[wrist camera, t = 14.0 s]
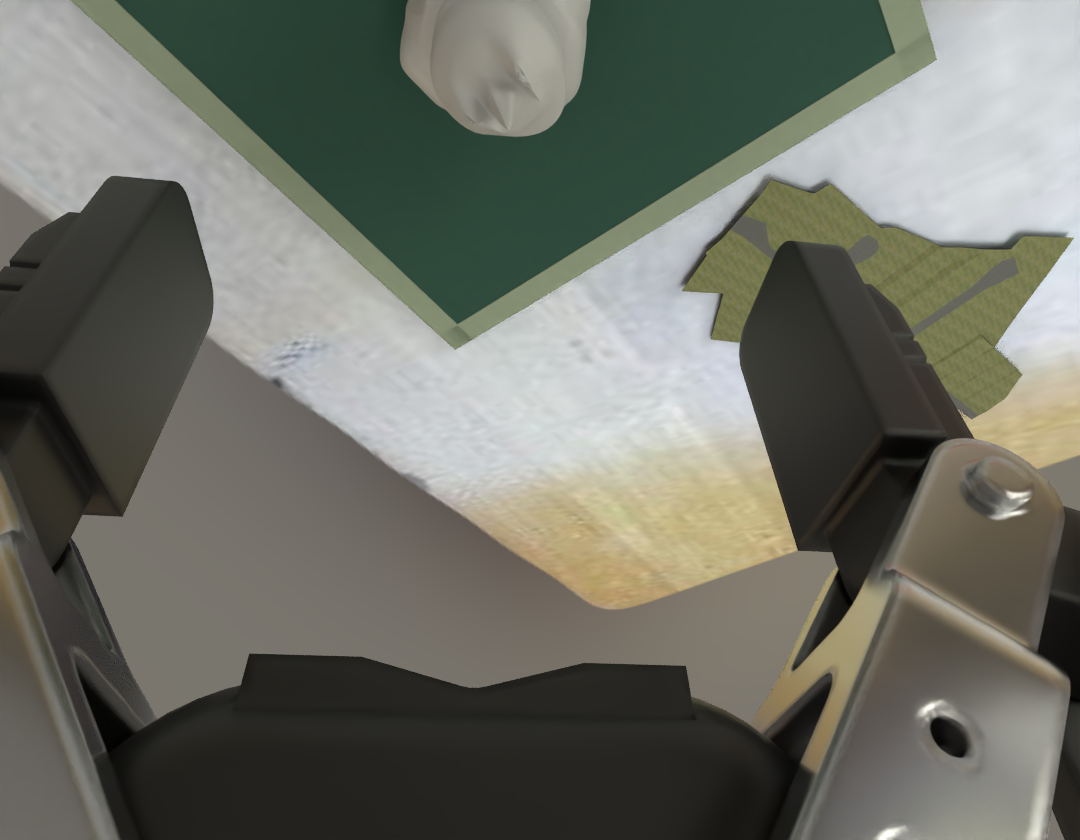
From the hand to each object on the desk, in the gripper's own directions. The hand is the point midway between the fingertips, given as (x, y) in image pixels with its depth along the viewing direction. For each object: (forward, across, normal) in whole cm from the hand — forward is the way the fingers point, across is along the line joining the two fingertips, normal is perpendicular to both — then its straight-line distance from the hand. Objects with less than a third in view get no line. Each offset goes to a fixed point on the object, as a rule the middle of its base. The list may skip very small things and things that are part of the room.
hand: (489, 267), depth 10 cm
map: (+15, -18, +11) cm, 26 cm away
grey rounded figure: (+15, 0, +1) cm, 15 cm away
